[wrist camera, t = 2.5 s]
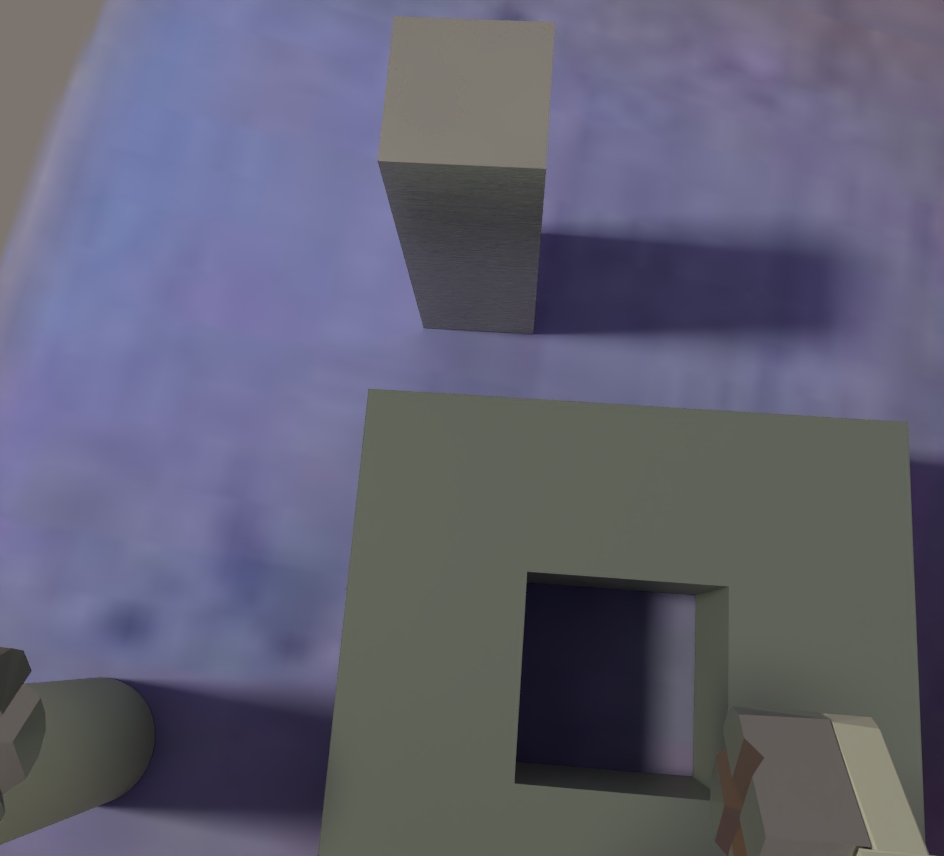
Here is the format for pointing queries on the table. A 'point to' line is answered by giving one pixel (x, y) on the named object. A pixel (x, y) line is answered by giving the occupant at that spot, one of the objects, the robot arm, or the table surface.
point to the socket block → (613, 567)
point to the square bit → (468, 165)
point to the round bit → (81, 753)
